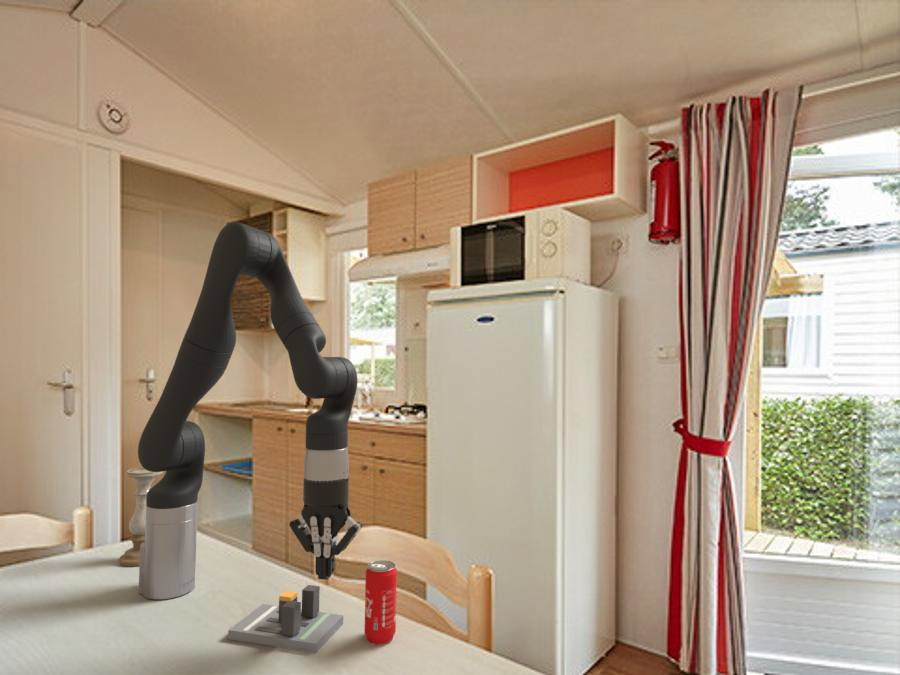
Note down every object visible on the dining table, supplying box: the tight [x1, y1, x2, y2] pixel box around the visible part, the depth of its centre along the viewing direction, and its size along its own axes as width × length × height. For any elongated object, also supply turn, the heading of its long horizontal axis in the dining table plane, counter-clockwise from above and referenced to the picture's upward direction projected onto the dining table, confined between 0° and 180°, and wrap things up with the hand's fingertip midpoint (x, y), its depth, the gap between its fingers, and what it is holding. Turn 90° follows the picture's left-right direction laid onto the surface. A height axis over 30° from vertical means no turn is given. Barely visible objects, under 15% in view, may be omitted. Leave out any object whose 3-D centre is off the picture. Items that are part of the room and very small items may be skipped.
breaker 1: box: [278, 590, 298, 623], centre depth 94 cm, size 2×2×4 cm
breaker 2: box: [281, 601, 302, 636], centre depth 90 cm, size 2×2×4 cm
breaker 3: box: [301, 584, 321, 618], centre depth 97 cm, size 2×2×4 cm
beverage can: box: [364, 560, 398, 646], centre depth 92 cm, size 5×5×12 cm
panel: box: [227, 603, 344, 654], centre depth 94 cm, size 16×10×2 cm, turn 76°
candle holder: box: [118, 466, 164, 567], centre depth 126 cm, size 9×9×20 cm
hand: (325, 577), depth 93 cm, fingers closed
